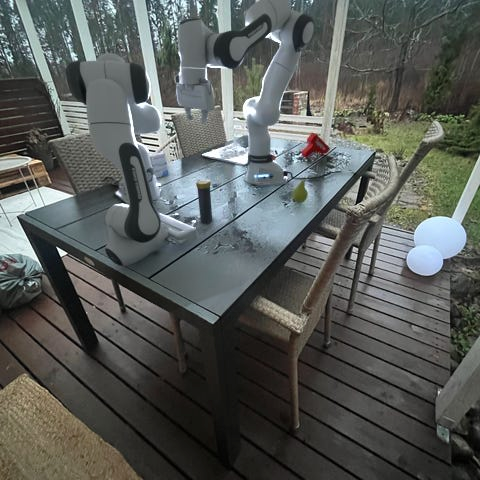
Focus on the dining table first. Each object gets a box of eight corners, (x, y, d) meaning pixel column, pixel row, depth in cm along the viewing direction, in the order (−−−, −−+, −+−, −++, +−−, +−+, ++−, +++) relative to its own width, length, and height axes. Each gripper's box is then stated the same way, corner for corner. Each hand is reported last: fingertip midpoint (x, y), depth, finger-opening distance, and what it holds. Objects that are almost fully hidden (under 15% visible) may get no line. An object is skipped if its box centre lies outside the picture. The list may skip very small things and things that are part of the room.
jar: (214, 221, 107) (212, 182, 99) (204, 224, 105) (201, 185, 96) (208, 216, 110) (205, 179, 102) (198, 220, 108) (194, 182, 99)
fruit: (288, 200, 123) (290, 174, 116) (302, 197, 125) (305, 172, 119) (296, 206, 118) (299, 179, 111) (310, 203, 120) (314, 177, 114)
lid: (213, 186, 99) (213, 181, 98) (201, 189, 97) (200, 185, 96) (205, 182, 103) (205, 177, 102) (193, 185, 100) (193, 180, 99)
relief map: (243, 165, 166) (243, 156, 164) (202, 156, 184) (201, 148, 181) (267, 155, 185) (267, 147, 182) (227, 147, 202) (227, 140, 200)
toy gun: (302, 154, 174) (315, 133, 171) (298, 152, 177) (311, 132, 174) (316, 167, 185) (330, 148, 182) (312, 166, 188) (325, 147, 185)
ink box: (164, 172, 156) (160, 151, 150) (168, 174, 153) (165, 153, 147) (150, 176, 151) (146, 154, 145) (155, 178, 148) (151, 156, 142)
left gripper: (176, 237, 82) (207, 219, 92) (136, 218, 93) (167, 204, 102) (179, 253, 86) (209, 235, 95) (139, 233, 96) (170, 218, 105)
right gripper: (218, 79, 88) (219, 124, 96) (187, 77, 102) (190, 117, 109) (202, 79, 85) (204, 126, 92) (171, 77, 98) (176, 118, 106)
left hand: (187, 219), depth 99 cm, fingers open, 8 cm apart
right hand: (196, 121), depth 101 cm, fingers open, 8 cm apart
